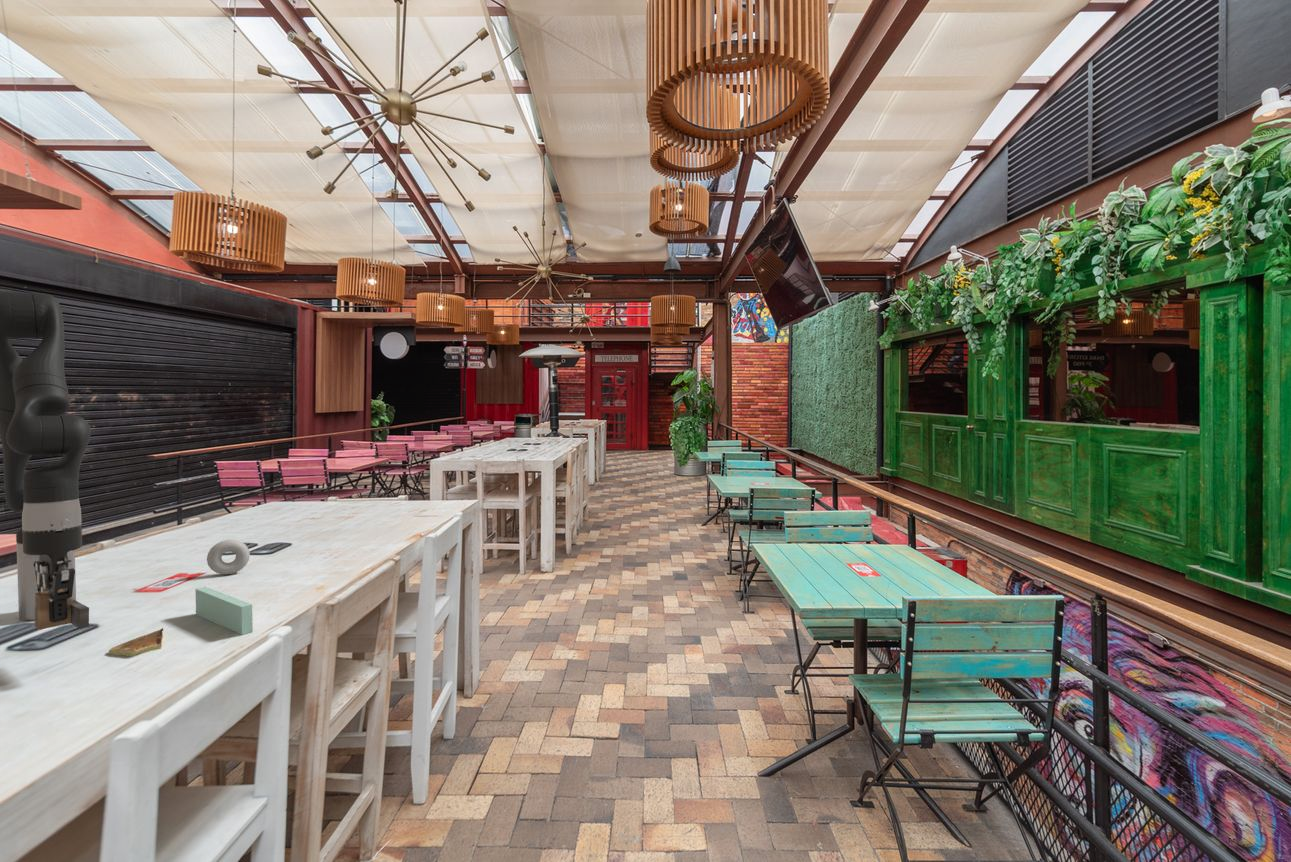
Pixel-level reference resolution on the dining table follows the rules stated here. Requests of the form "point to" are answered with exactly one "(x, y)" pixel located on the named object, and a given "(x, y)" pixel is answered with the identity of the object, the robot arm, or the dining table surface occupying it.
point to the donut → (224, 546)
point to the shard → (139, 645)
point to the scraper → (75, 613)
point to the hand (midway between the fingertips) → (55, 618)
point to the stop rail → (224, 610)
